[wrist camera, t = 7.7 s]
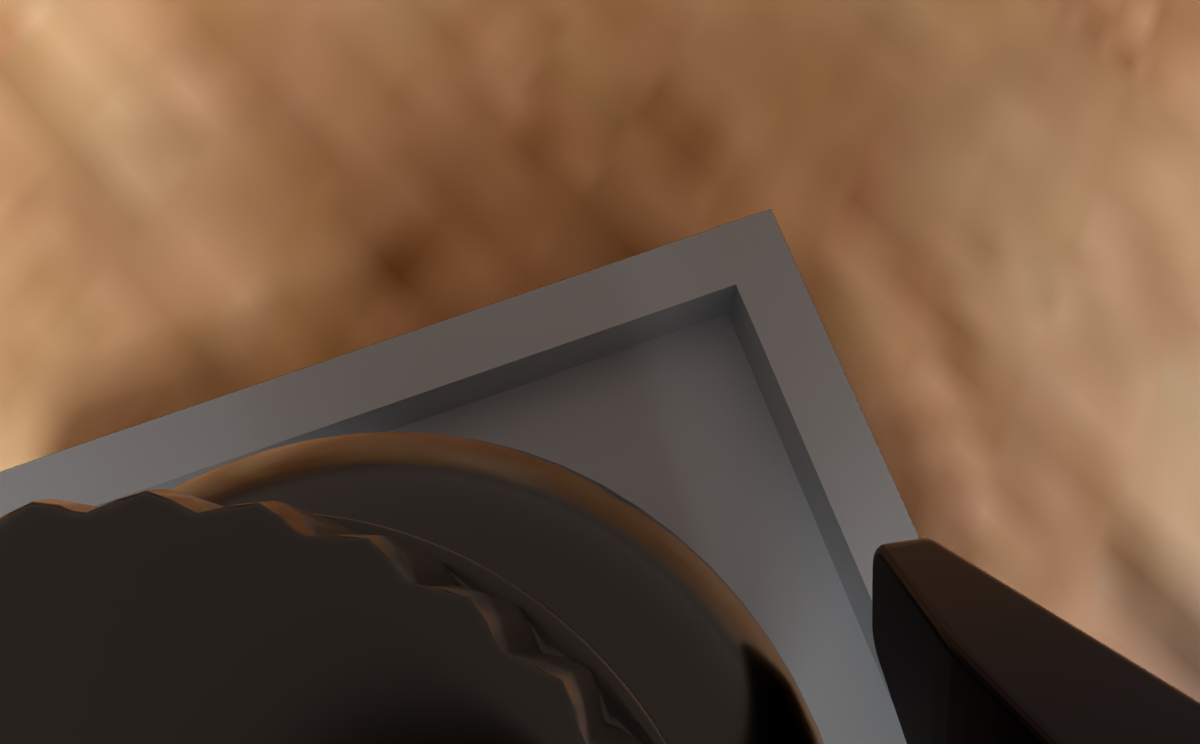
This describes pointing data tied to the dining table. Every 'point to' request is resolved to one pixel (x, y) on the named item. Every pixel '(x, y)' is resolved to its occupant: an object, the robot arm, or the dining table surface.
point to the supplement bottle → (377, 610)
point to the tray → (614, 434)
